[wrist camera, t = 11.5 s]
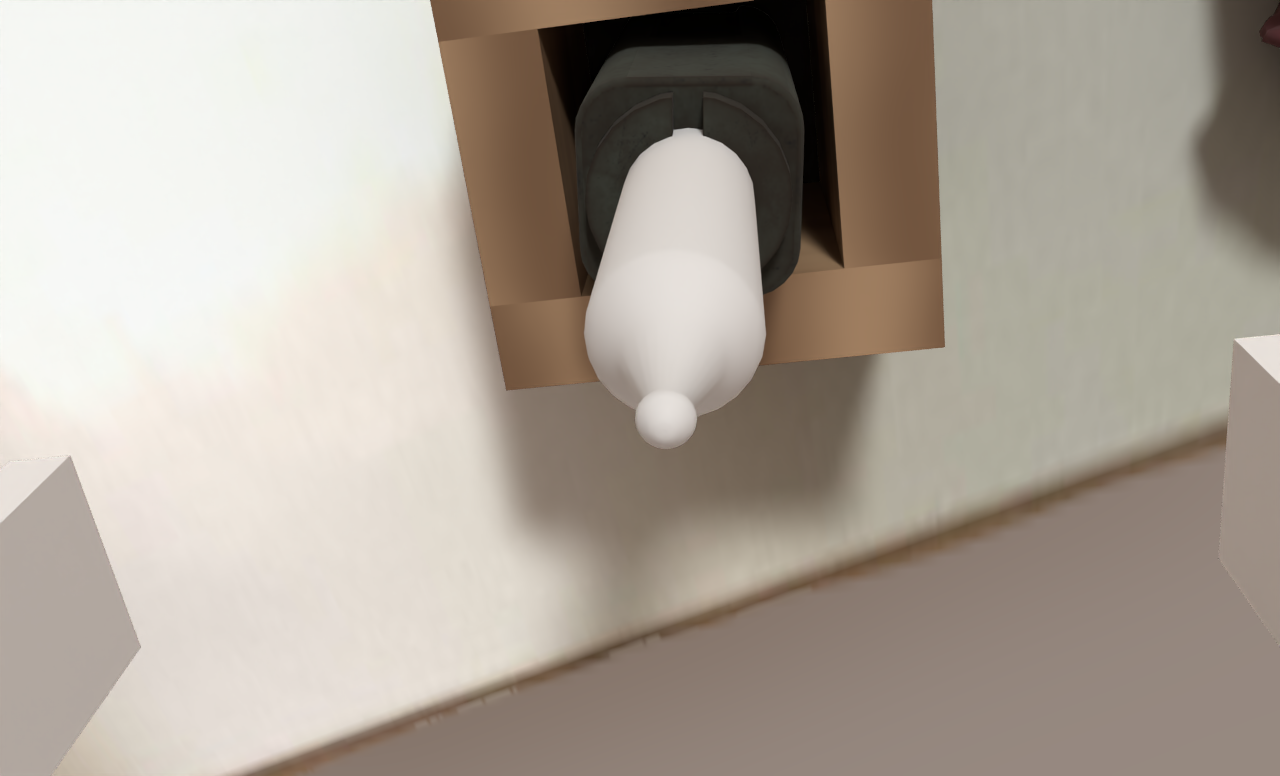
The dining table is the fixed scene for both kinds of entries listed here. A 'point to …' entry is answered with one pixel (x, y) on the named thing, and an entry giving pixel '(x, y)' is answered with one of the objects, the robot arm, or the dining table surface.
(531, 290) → the well block
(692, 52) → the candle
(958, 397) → the dining table surface
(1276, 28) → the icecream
